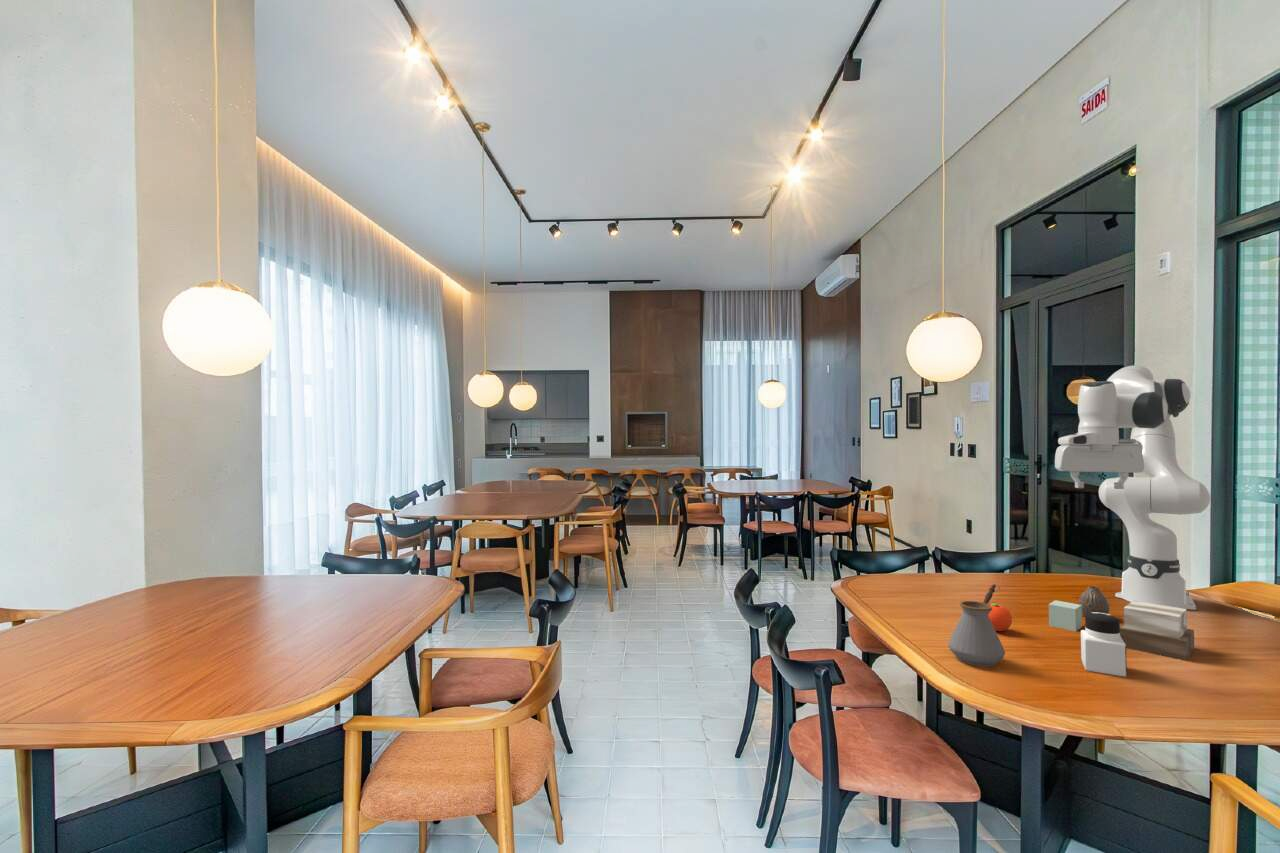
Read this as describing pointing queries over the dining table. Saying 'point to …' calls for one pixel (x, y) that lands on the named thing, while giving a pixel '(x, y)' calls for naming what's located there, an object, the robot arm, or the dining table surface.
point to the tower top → (1155, 619)
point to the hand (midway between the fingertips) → (1099, 488)
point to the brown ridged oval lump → (1093, 601)
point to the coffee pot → (977, 634)
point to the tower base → (1159, 643)
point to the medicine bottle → (1103, 645)
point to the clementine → (1000, 617)
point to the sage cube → (1065, 615)
